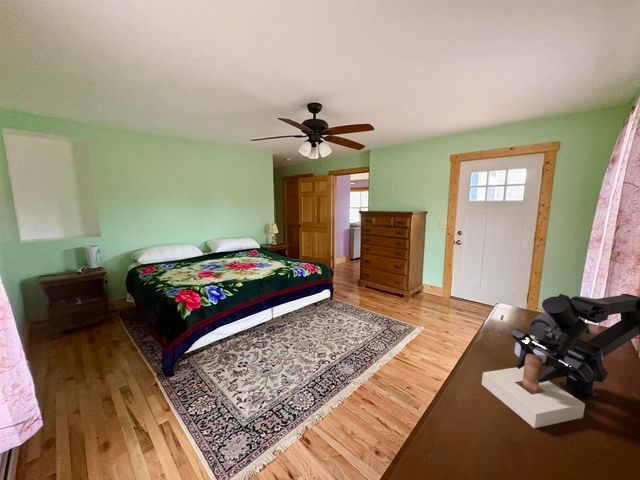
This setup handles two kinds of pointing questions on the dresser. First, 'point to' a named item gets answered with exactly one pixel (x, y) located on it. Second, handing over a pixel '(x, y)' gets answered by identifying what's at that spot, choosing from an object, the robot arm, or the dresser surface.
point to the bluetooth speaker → (542, 321)
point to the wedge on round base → (538, 353)
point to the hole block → (533, 398)
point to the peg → (531, 373)
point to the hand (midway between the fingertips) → (527, 374)
